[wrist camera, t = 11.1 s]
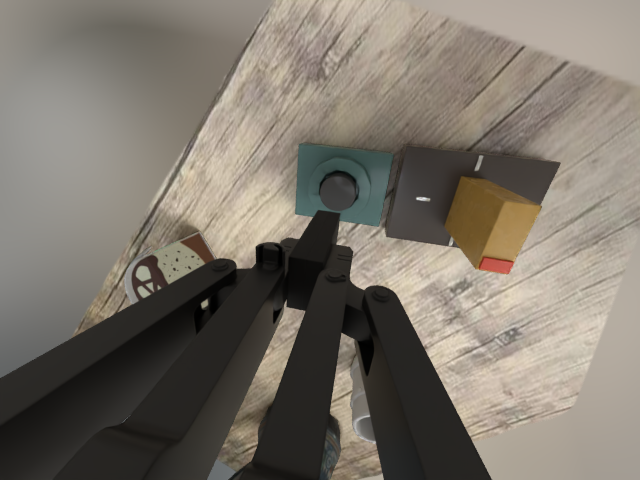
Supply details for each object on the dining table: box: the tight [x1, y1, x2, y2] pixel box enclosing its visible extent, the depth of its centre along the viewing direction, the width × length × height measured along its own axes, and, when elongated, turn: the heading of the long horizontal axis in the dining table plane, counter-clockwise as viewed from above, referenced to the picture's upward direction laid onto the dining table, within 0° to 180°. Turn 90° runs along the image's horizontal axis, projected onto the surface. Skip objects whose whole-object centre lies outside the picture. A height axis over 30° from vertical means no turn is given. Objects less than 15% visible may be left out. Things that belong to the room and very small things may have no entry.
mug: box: [350, 355, 376, 444], centre depth 36 cm, size 8×12×12 cm, turn 108°
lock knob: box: [444, 176, 542, 274], centre depth 22 cm, size 6×2×9 cm, turn 174°
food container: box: [124, 231, 216, 308], centre depth 34 cm, size 12×6×10 cm, turn 22°
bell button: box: [320, 173, 356, 211], centre depth 26 cm, size 4×4×2 cm
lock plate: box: [385, 144, 561, 248], centre depth 27 cm, size 14×10×3 cm
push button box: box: [295, 143, 394, 226], centre depth 28 cm, size 10×8×4 cm
